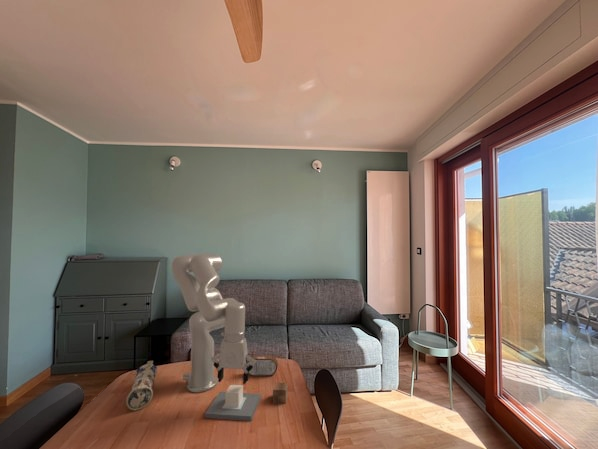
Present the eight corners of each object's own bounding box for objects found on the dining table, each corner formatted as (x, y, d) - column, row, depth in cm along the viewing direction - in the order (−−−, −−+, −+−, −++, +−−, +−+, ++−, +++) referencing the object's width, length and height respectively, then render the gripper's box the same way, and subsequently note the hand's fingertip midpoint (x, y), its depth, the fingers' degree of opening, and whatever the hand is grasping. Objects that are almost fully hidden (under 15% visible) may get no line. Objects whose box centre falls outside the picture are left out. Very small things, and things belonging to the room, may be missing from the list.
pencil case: (135, 385, 112) (135, 362, 112) (157, 380, 115) (157, 358, 116) (124, 416, 92) (125, 388, 92) (152, 410, 95) (152, 383, 96)
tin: (278, 373, 120) (278, 355, 121) (277, 376, 117) (277, 358, 118) (246, 373, 121) (246, 355, 121) (244, 376, 118) (245, 358, 118)
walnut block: (273, 402, 99) (273, 389, 99) (275, 395, 104) (275, 382, 104) (285, 403, 98) (285, 390, 98) (287, 395, 103) (287, 383, 103)
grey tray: (204, 417, 91) (204, 412, 91) (220, 395, 104) (220, 391, 104) (251, 420, 89) (251, 415, 89) (260, 397, 102) (260, 393, 102)
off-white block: (225, 406, 94) (225, 392, 94) (230, 398, 99) (230, 384, 99) (238, 407, 94) (238, 393, 94) (242, 398, 99) (243, 385, 99)
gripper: (208, 338, 95) (206, 385, 95) (253, 341, 93) (252, 389, 93) (217, 330, 103) (215, 373, 102) (259, 333, 101) (257, 377, 100)
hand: (232, 381), depth 97 cm, fingers open, 9 cm apart
